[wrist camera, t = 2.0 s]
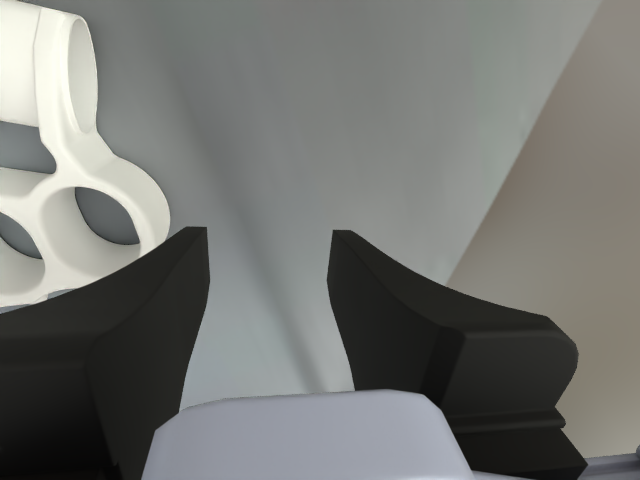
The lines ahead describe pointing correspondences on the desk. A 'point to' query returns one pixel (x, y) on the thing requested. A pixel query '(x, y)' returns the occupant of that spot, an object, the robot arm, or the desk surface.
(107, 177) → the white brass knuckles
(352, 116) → the desk surface
